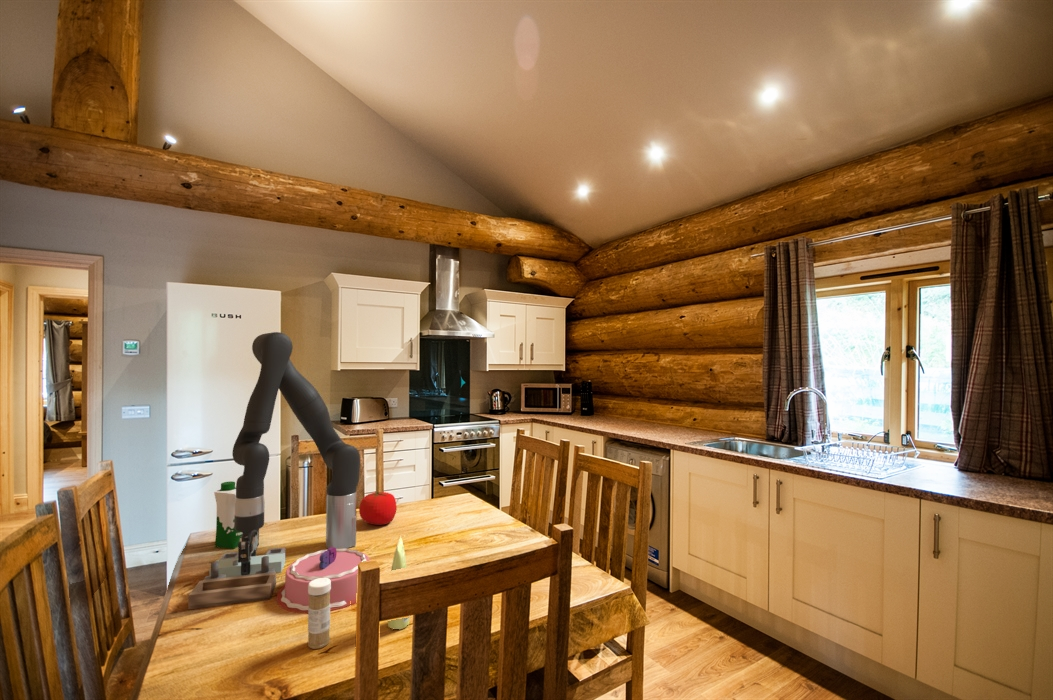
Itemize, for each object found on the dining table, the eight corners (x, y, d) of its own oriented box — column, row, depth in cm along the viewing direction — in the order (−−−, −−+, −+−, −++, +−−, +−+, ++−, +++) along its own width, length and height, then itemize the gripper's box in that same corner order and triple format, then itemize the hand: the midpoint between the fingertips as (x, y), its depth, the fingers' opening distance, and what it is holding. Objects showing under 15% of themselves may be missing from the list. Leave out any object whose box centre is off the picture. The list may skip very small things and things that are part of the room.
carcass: (277, 581, 134) (278, 554, 134) (269, 599, 124) (270, 570, 124) (202, 589, 129) (203, 562, 129) (188, 609, 119) (188, 579, 119)
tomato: (402, 518, 186) (403, 488, 186) (384, 531, 173) (385, 498, 173) (372, 515, 189) (373, 485, 189) (352, 528, 176) (353, 495, 176)
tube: (381, 624, 113) (382, 540, 114) (399, 615, 117) (401, 534, 117) (395, 633, 110) (397, 546, 110) (414, 624, 114) (415, 540, 114)
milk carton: (231, 538, 165) (232, 479, 165) (254, 540, 163) (255, 480, 163) (209, 548, 156) (210, 485, 156) (233, 550, 154) (235, 487, 155)
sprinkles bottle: (324, 635, 109) (325, 575, 109) (333, 643, 106) (334, 581, 106) (303, 643, 105) (304, 581, 106) (312, 652, 102) (313, 588, 102)
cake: (313, 566, 144) (313, 530, 145) (392, 573, 141) (393, 536, 141) (253, 609, 120) (254, 566, 120) (348, 619, 116) (348, 574, 116)
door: (287, 557, 150) (287, 544, 150) (281, 572, 139) (281, 558, 139) (221, 564, 144) (221, 550, 144) (209, 580, 134) (209, 565, 134)
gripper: (258, 518, 134) (257, 579, 134) (269, 502, 148) (268, 558, 148) (227, 520, 132) (226, 582, 132) (241, 504, 146) (240, 560, 145)
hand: (248, 569), depth 140 cm, fingers closed on door, 6 cm apart
